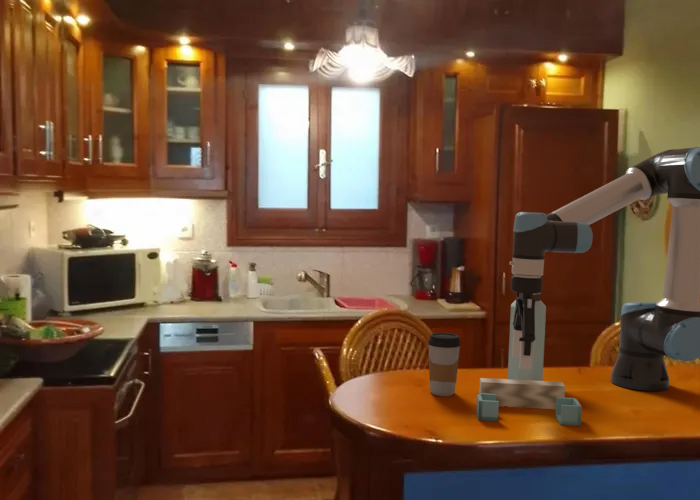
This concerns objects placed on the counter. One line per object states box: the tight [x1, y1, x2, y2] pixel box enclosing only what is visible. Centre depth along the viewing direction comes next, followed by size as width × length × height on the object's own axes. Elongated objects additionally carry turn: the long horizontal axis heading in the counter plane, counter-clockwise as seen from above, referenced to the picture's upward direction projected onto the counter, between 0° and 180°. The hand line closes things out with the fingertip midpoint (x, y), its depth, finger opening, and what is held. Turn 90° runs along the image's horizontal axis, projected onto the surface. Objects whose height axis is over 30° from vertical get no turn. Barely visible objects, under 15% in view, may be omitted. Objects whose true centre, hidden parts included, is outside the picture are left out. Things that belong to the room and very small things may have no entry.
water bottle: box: [507, 292, 547, 381], centre depth 198 cm, size 10×10×25 cm
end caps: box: [475, 392, 583, 427], centre depth 167 cm, size 23×7×4 cm, turn 84°
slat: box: [478, 377, 566, 410], centre depth 178 cm, size 20×4×6 cm, turn 85°
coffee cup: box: [427, 332, 461, 397], centre depth 186 cm, size 8×8×15 cm
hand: (521, 362), depth 177 cm, fingers open, 13 cm apart
